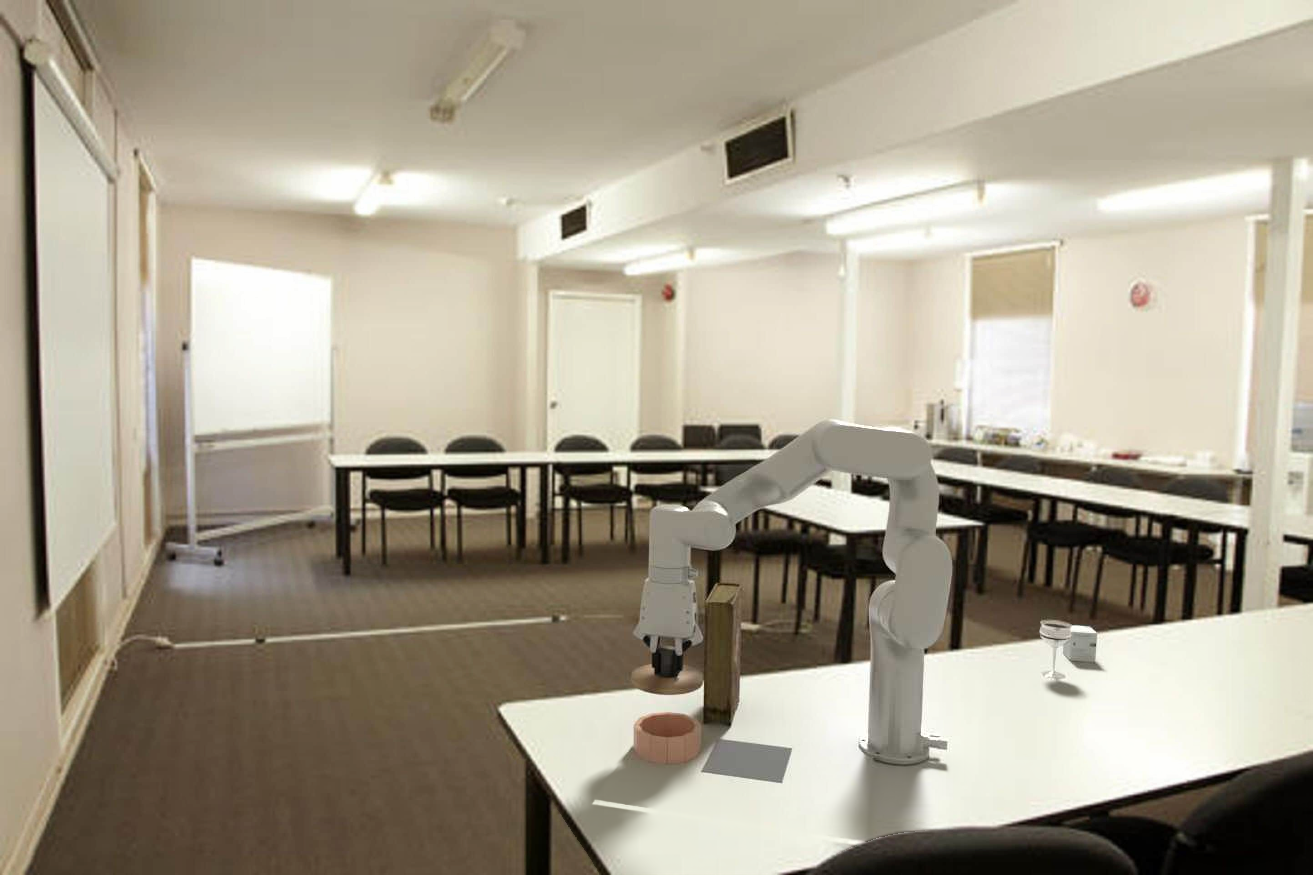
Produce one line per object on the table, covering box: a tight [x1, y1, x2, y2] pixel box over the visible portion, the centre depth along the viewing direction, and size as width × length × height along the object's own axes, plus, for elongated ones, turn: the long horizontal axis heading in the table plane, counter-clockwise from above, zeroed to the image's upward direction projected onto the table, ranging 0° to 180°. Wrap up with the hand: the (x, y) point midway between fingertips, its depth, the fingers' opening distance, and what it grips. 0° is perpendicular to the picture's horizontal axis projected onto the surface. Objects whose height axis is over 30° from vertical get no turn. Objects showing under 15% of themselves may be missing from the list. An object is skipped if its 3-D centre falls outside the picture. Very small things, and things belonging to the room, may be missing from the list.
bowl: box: [633, 711, 702, 765], centre depth 163 cm, size 12×12×5 cm
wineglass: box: [1039, 619, 1072, 679], centre depth 205 cm, size 7×7×12 cm
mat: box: [700, 738, 793, 784], centre depth 159 cm, size 14×14×1 cm
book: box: [702, 582, 743, 727], centre depth 180 cm, size 16×6×25 cm, turn 168°
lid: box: [630, 645, 704, 696], centre depth 161 cm, size 13×13×6 cm
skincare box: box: [1062, 624, 1098, 663], centre depth 218 cm, size 6×6×7 cm
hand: (667, 672), depth 161 cm, fingers closed on lid, 2 cm apart
